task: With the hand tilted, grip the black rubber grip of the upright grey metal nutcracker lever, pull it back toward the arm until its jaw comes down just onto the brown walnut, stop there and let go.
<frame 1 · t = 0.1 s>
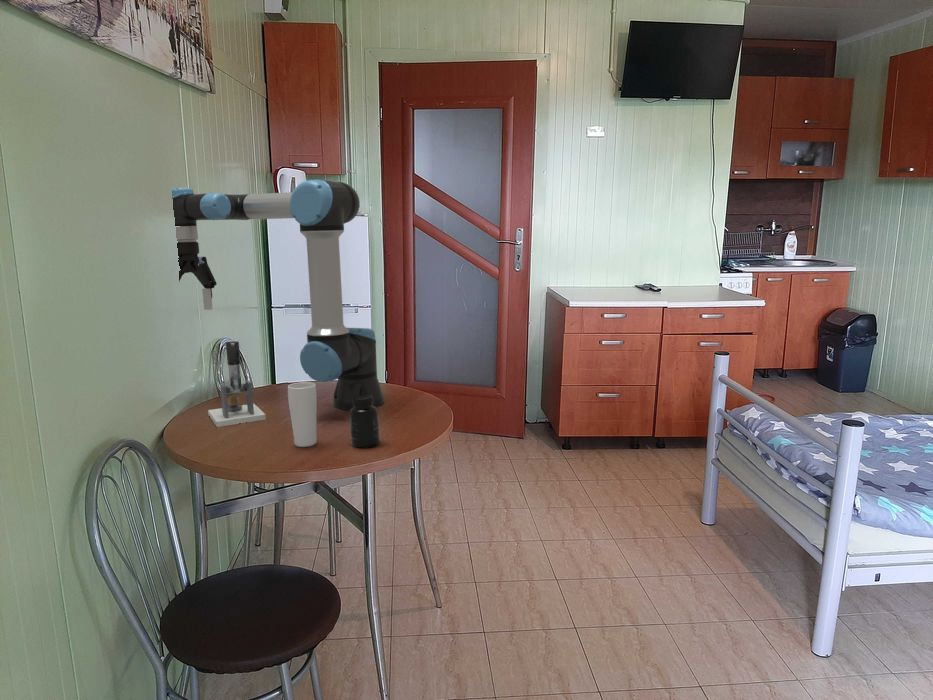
hand: (191, 312, 207), 28 cm above the table, tool pointing down, fingers open, 13 cm apart
drinking glass: (305, 445, 168), on the table
lever: (232, 365, 190), point 15 cm above the table, hinge at 0.0°
supplement bottle: (365, 445, 167), on the table
nutcracker base: (238, 419, 190), on the table
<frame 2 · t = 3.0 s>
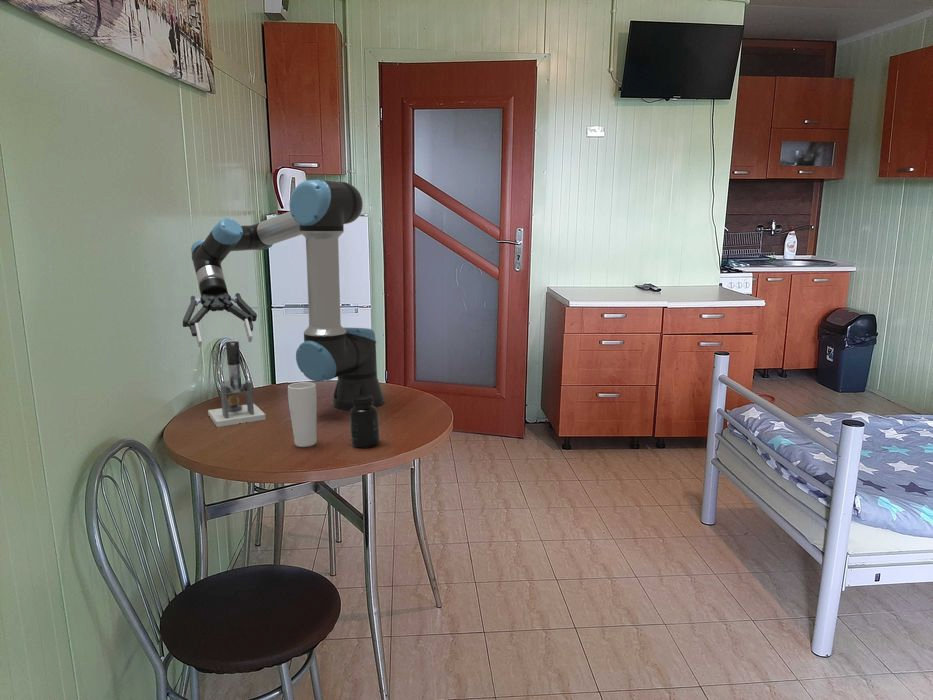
hand: (225, 341, 192), 21 cm above the table, tool tilted 45°, fingers open, 13 cm apart
nothing on the table moved.
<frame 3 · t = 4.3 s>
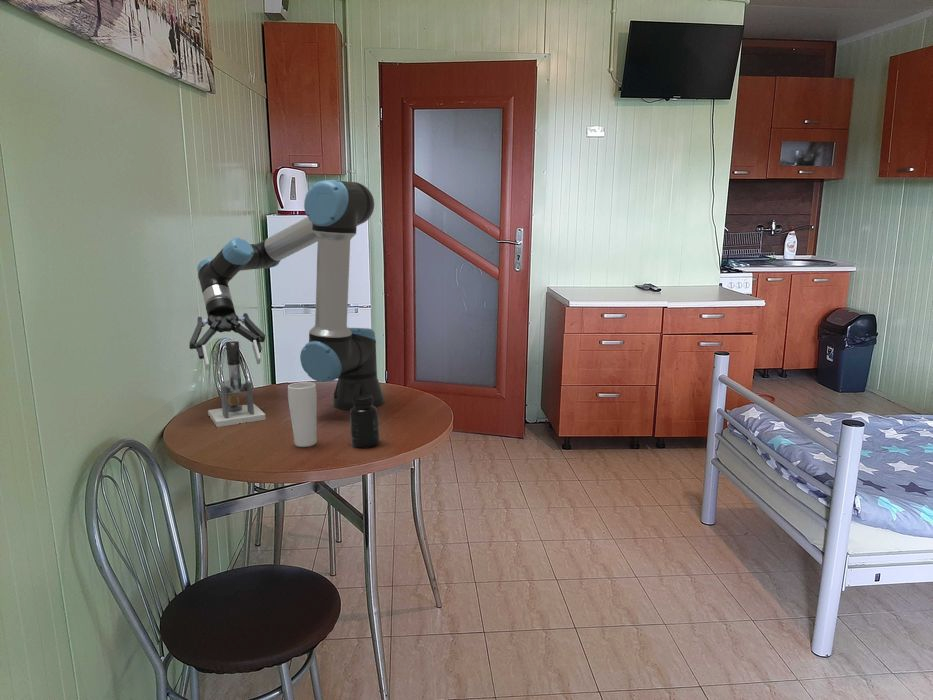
hand: (233, 364, 187), 16 cm above the table, tool tilted 45°, fingers open, 13 cm apart
nothing on the table moved.
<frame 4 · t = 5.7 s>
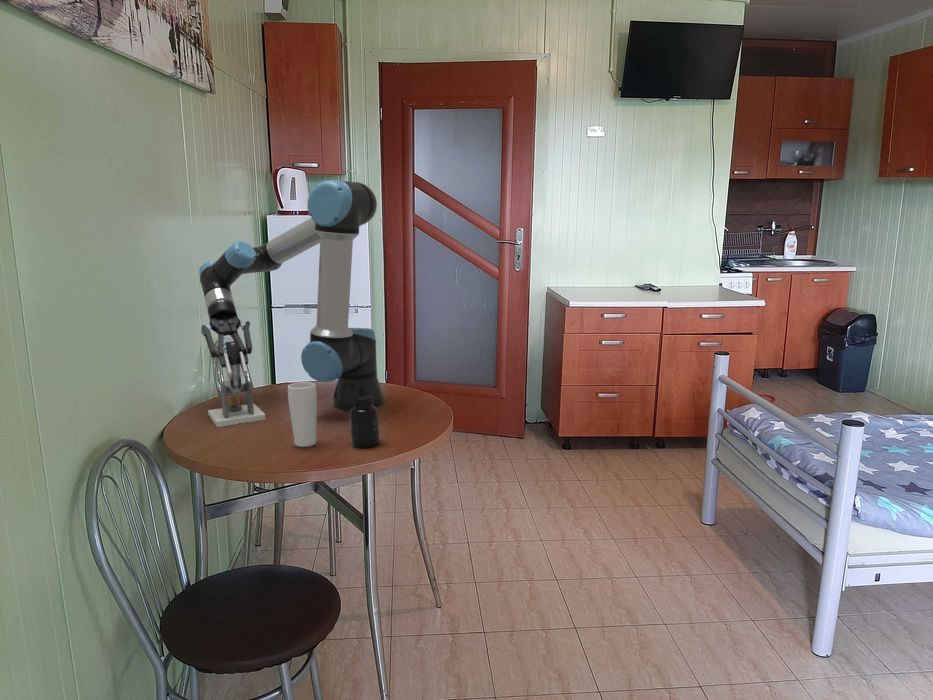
hand: (237, 374, 185), 14 cm above the table, tool tilted 45°, fingers closed on lever, 3 cm apart
lever: (232, 365, 190), point 15 cm above the table, hinge at 0.0°, touching gripper
everything else where it was.
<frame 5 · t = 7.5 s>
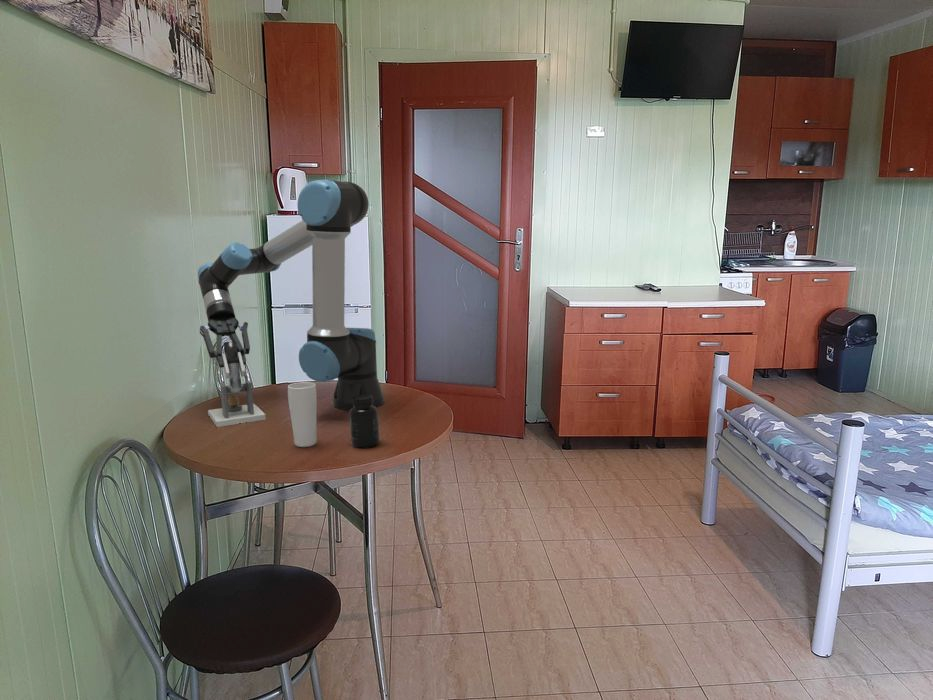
hand: (235, 374, 187), 13 cm above the table, tool tilted 45°, fingers closed on lever, 3 cm apart
lever: (231, 368, 192), point 14 cm above the table, hinge at 15.0°, touching gripper
everything else where it was.
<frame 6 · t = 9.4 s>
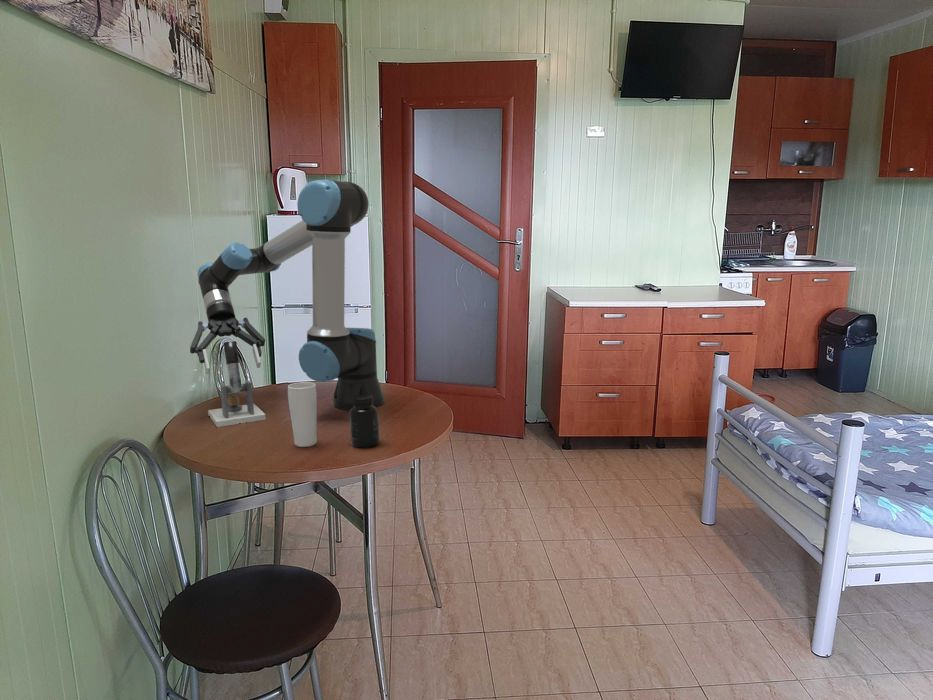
hand: (234, 368, 189), 15 cm above the table, tool tilted 45°, fingers open, 13 cm apart
lever: (231, 368, 192), point 14 cm above the table, hinge at 15.2°
everything else where it was.
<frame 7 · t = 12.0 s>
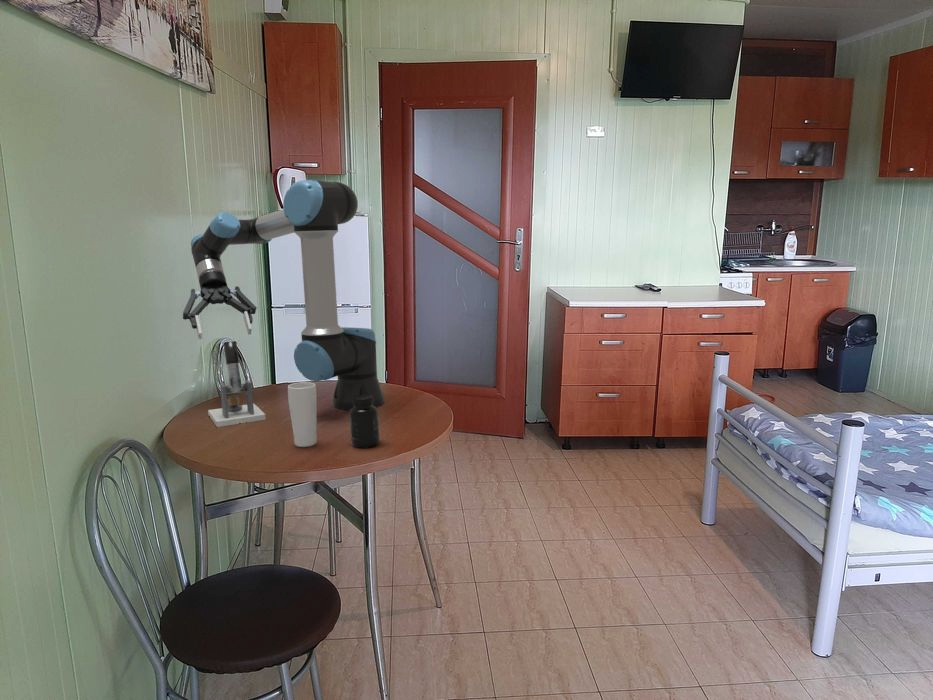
hand: (225, 334, 194), 23 cm above the table, tool tilted 45°, fingers open, 13 cm apart
nothing on the table moved.
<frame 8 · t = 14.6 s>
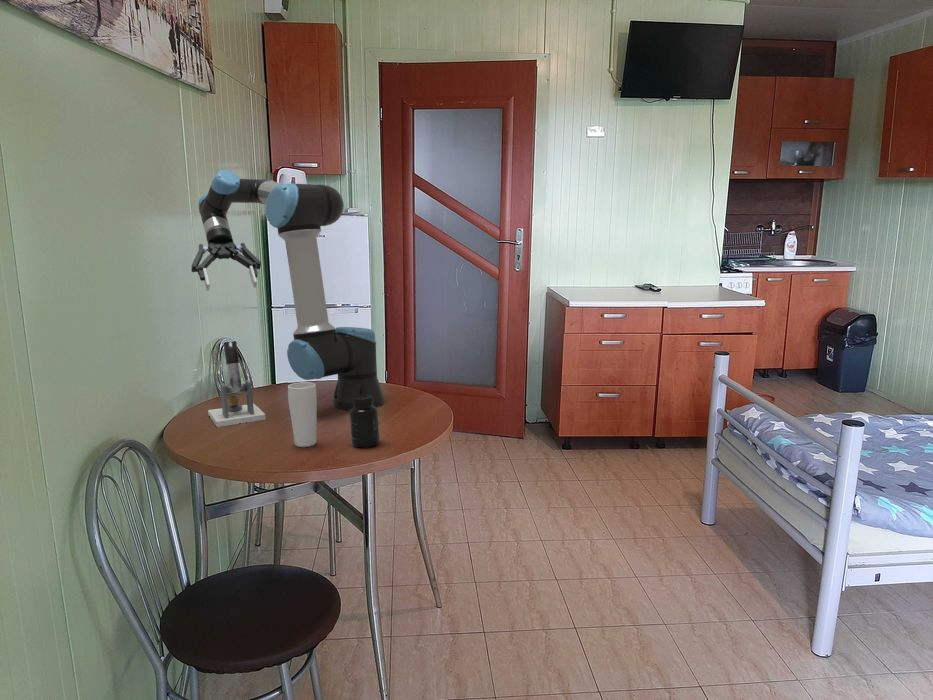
hand: (232, 286, 204), 36 cm above the table, tool tilted 45°, fingers open, 13 cm apart
nothing on the table moved.
at the end: lever at +15° (first picture: +0°); the gripper is holding nothing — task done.
